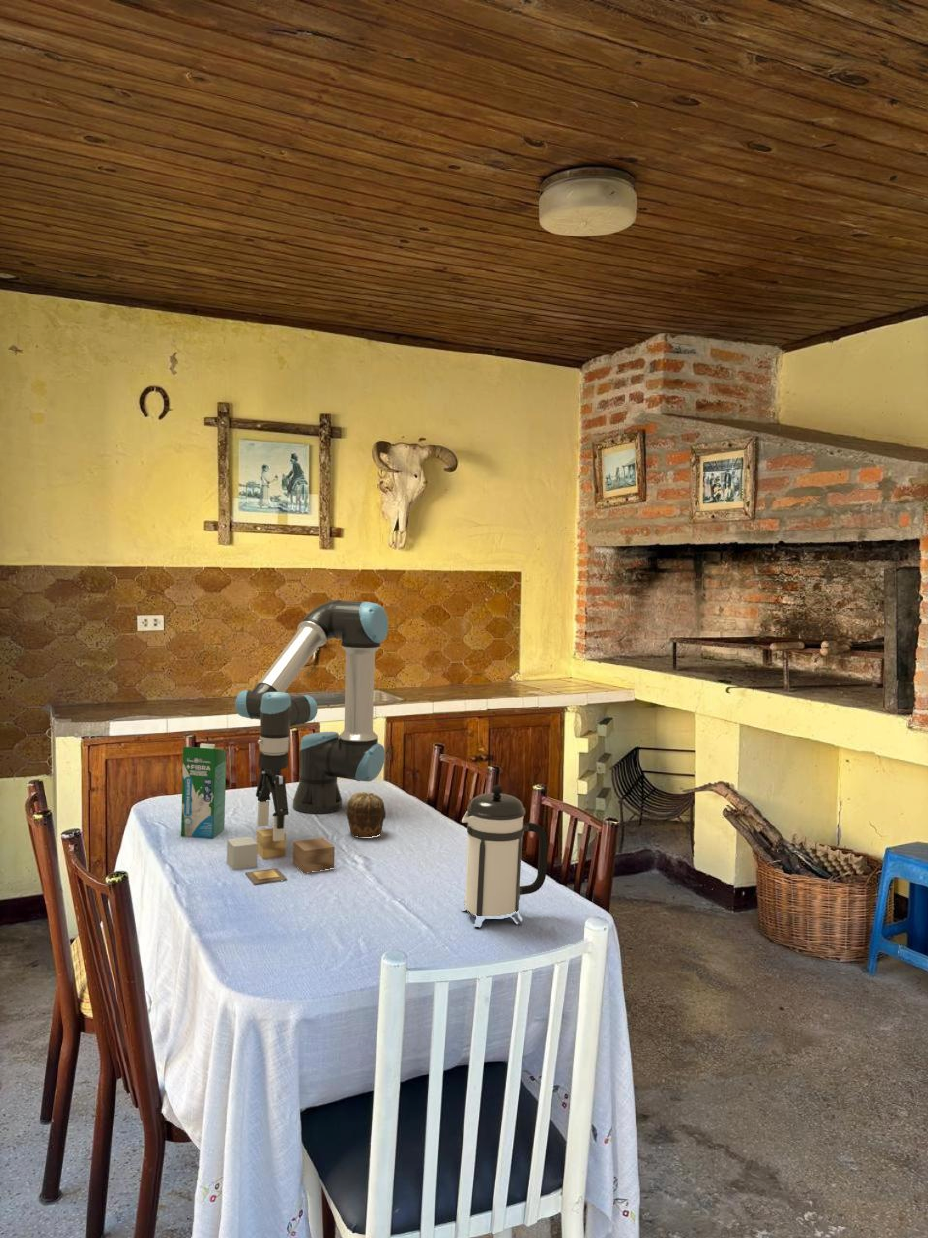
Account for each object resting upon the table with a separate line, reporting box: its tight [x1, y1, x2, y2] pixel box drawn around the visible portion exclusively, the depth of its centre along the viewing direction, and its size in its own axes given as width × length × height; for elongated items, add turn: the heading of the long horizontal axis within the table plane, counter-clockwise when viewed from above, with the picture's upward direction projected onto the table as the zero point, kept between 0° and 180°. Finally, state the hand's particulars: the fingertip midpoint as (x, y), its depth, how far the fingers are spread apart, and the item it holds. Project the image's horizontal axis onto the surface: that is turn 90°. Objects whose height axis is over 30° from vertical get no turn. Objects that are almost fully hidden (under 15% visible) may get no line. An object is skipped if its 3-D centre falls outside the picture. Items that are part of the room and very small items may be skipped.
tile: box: [245, 867, 288, 886], centre depth 222 cm, size 8×8×1 cm
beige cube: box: [226, 836, 258, 871], centre depth 230 cm, size 6×6×6 cm
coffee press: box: [461, 784, 549, 916], centre depth 203 cm, size 17×16×30 cm
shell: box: [346, 791, 386, 837], centre depth 258 cm, size 11×11×12 cm
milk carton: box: [180, 743, 227, 839], centre depth 253 cm, size 9×9×25 cm
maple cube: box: [256, 827, 287, 860], centre depth 239 cm, size 6×6×6 cm
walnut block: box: [292, 837, 336, 874], centre depth 231 cm, size 8×8×6 cm
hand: (270, 833), depth 238 cm, fingers open, 13 cm apart
